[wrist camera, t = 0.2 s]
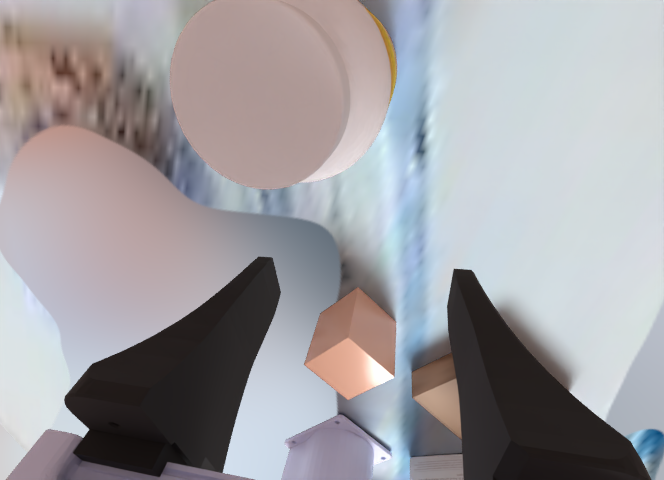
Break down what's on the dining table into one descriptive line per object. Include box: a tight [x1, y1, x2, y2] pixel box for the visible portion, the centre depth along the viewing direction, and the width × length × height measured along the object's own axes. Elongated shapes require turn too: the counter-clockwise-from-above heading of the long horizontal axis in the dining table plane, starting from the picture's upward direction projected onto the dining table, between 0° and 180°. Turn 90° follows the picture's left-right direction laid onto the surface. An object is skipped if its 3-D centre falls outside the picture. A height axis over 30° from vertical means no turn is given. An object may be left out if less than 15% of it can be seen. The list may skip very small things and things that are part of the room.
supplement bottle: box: [170, 0, 397, 190], centre depth 14 cm, size 7×7×13 cm
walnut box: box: [412, 353, 462, 440], centre depth 28 cm, size 9×9×3 cm
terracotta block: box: [304, 287, 396, 400], centre depth 26 cm, size 4×4×6 cm
